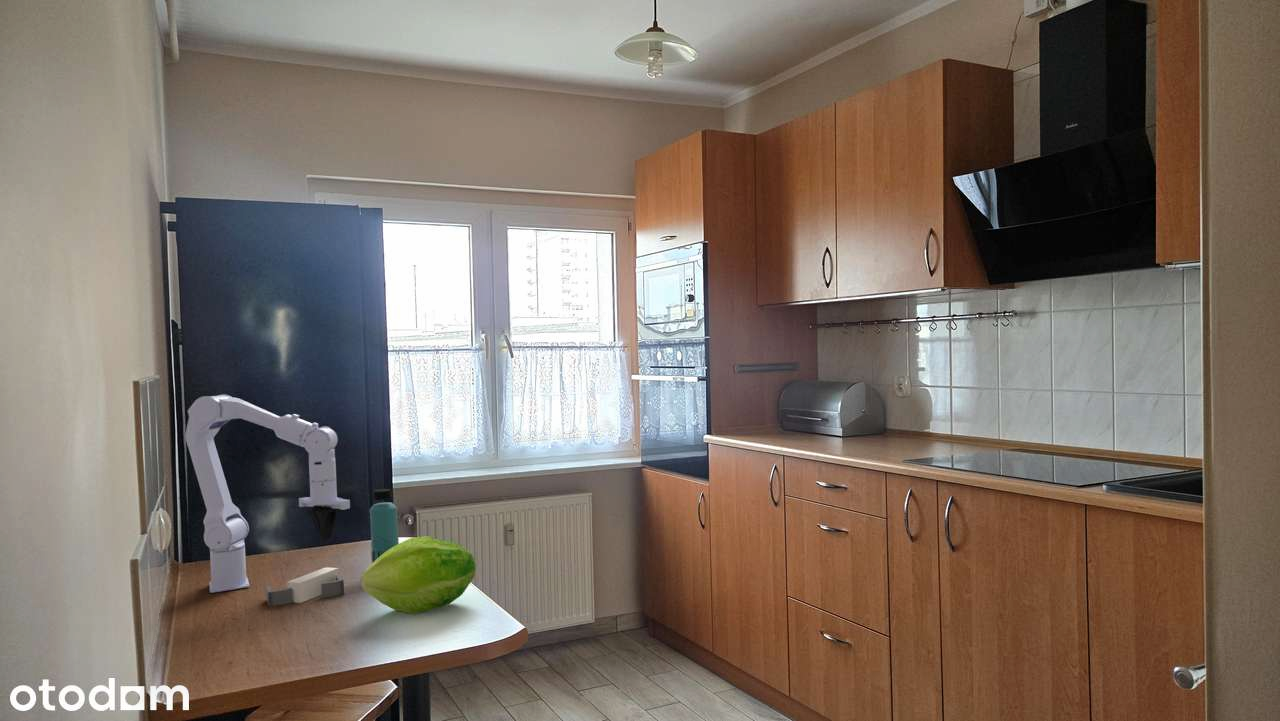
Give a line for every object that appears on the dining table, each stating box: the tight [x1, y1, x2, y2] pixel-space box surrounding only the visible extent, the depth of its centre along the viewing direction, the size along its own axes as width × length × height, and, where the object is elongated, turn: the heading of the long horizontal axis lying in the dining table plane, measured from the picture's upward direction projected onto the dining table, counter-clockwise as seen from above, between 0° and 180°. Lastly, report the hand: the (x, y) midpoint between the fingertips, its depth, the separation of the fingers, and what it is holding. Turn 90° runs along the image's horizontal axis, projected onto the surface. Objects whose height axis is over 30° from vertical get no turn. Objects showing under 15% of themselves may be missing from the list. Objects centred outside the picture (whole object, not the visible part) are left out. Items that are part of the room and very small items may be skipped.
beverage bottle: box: [369, 488, 400, 564], centre depth 197 cm, size 6×7×20 cm
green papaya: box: [360, 535, 477, 614], centre depth 167 cm, size 15×23×16 cm
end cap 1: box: [265, 585, 293, 608], centre depth 177 cm, size 6×4×3 cm
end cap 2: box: [321, 574, 345, 599], centre depth 182 cm, size 6×4×3 cm
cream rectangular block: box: [286, 566, 340, 604], centre depth 182 cm, size 4×12×4 cm, turn 161°
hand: (325, 539), depth 192 cm, fingers closed
